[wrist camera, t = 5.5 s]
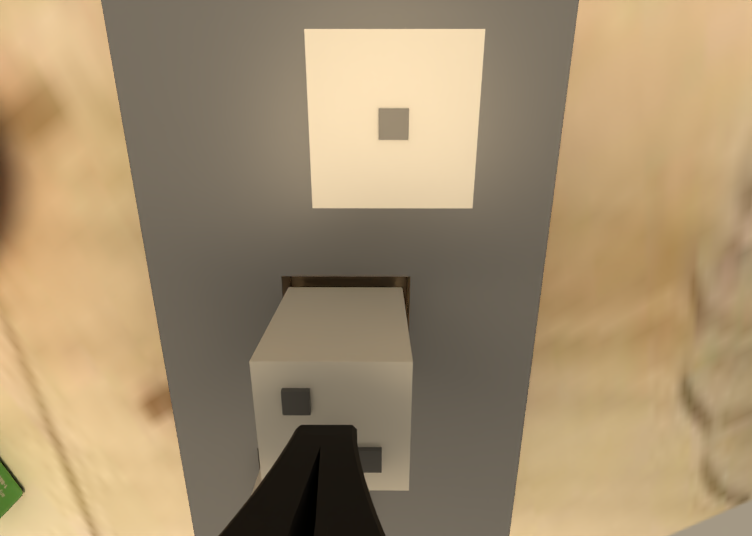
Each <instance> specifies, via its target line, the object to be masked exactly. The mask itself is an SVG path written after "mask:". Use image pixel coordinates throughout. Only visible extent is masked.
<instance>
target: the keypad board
mask: <svg viewBox="0 0 752 536" xmlns="http://www.w3.org/2000/svg"><path fill="white" fill-rule="evenodd" d="M101 2H102V8H103V14H104V20H105V25H106V31H107V37H108V43H109V48H110V54H111V60H112V65H113V71H114V77H115V83H116V88H117V94H118V100H119V105H120V111H121V117H122V123H123V128H124V134H125V140H126V145H127V151H128V157H129V163H130V168H131V174H132V180H133V185H134V191H135V197H136V203H137V208H138V214H139V220H140V226H141V231H142V237H143V243H144V248H145V254H146V260H147V266H148V271H149V277H150V283H151V288H152V294H153V300H154V306H155V311H156V317H157V323H158V328H159V334H160V340H161V346H162V351H163V357H164V363H165V368H166V374H167V380H168V386H169V391H170V397H171V403H172V408H173V414H174V420H175V426H176V431H177V437H178V443H179V449H180V454H181V460H182V466H183V471H184V477H185V483H186V489H187V494H188V500H189V506H190V511H191V517H192V523H193V529H194V534H195V536H219V534H220V533H221V532H222V531H223V530H224V529H225V527H226V526H227V525H228V524H229V522H230V521H231V520H232V519H233V518H234V516H235V515H236V514H237V513H238V511H239V510H240V509H241V508H242V506H243V505H244V504H245V503H246V501H247V500H248V499H249V498H250V496H251V494H252V491H253V488H254V485H255V482H256V479H257V476H258V473H259V470H260V460H259V450H258V441H257V431H256V421H255V412H254V402H253V393H252V383H251V374H250V364H249V361H250V359H251V357H252V355H253V353H254V352H255V350H256V348H257V346H258V344H259V342H260V340H261V338H262V336H263V335H264V333H265V331H266V329H267V327H268V325H269V323H270V321H271V319H272V317H273V316H274V314H275V312H276V310H277V308H278V306H279V304H280V302H281V300H282V299H283V297H284V295H285V293H286V291H287V289H288V287H291V283H290V276H387V277H407V314H406V317H407V324H408V331H409V338H410V345H411V352H412V359H413V376H412V408H411V440H410V472H409V491H394V490H369V493H370V496H371V499H372V502H373V505H374V507H375V510H376V513H377V515H378V518H379V521H380V523H381V526H382V528H383V531H384V533H385V535H386V536H509V534H510V526H511V518H512V510H513V503H514V495H515V487H516V480H517V472H518V464H519V457H520V449H521V441H522V434H523V426H524V418H525V411H526V403H527V395H528V387H529V380H530V372H531V364H532V357H533V349H534V341H535V334H536V326H537V318H538V311H539V303H540V295H541V287H542V280H543V272H544V264H545V257H546V249H547V241H548V234H549V226H550V218H551V211H552V203H553V195H554V188H555V180H556V172H557V164H558V157H559V149H560V141H561V134H562V126H563V118H564V111H565V103H566V95H567V88H568V80H569V72H570V65H571V57H572V49H573V41H574V34H575V26H576V18H577V11H578V3H579V0H101ZM304 29H485V41H484V55H483V69H482V83H481V97H480V111H479V125H478V139H477V153H476V167H475V181H474V195H473V208H312V188H311V166H310V144H309V123H308V101H307V79H306V58H305V36H304Z"/></svg>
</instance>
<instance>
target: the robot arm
mask: <svg viewBox="0 0 752 536" xmlns="http://www.w3.org/2000/svg"><path fill="white" fill-rule="evenodd" d="M219 536H386V535H385V533H384V531H383V528H382V526H381V523H380V521H379V518H378V515H377V513H376V510H375V507H374V505H373V502H372V499H371V496H370V493H369V489H368V486H367V483H366V480H365V477H364V473H363V469H362V465H361V461H360V456H359V451H358V444H357V429H356V428H355V427H354V426H353V425H300V426H299V427H297V428H296V430H295V431H294V433H293V435H292V437H291V438H290V440H289V441H288V443H287V445H286V446H285V448H284V449H283V451H282V453H281V454H280V456H279V457H278V459H277V460H276V462H275V463H274V464H273V466H272V467H271V469H270V470H269V472H268V473H267V474H266V476H265V477H264V479H263V480H262V481H261V483H260V484H259V485H258V487H257V488H256V490H255V491H254V492H253V494H252V495H251V496H250V498H249V499H248V500H247V501H246V503H245V504H244V505H243V506H242V508H241V509H240V510H239V511H238V513H237V514H236V515H235V516H234V518H233V519H232V520H231V521H230V522H229V524H228V525H227V526H226V527H225V529H224V530H223V531H222V532H221V533H220V534H219Z"/></svg>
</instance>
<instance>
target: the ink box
mask: <svg viewBox="0 0 752 536" xmlns="http://www.w3.org/2000/svg"><path fill="white" fill-rule="evenodd" d="M22 494H23V492H22V489H21V488H20V486H19V485H18V484H17V483H16V482H15V480H14V479H13V478H12V477H11V475H10V473H9V472H8V471H7V470H6V468H5V467H4V466H3V464H2V463H1V462H0V518H1V517H2V516H3V515H4V514H5V513H6V512H7V511H8V510H9V509H10V508H11V507H12V506H13V505H14V503H15V502H16V501H17V500H18V499H19V498H20V497H21V496H22Z"/></svg>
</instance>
